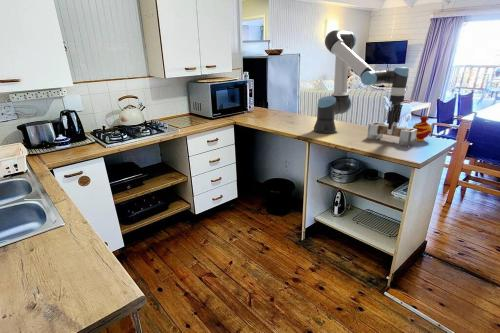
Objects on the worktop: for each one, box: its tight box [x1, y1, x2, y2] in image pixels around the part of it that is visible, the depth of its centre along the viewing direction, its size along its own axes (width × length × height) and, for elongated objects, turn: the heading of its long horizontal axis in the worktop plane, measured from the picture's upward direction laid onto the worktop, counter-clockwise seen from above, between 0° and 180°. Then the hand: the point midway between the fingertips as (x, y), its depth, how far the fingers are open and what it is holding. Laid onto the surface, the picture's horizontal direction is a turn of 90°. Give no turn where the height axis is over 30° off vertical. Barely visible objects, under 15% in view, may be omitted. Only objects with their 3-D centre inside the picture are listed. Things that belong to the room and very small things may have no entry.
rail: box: [376, 124, 411, 138], centre depth 179 cm, size 20×4×5 cm, turn 42°
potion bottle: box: [412, 115, 433, 142], centre depth 180 cm, size 10×10×15 cm
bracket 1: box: [366, 121, 385, 141], centre depth 187 cm, size 6×8×9 cm
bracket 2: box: [398, 127, 418, 148], centre depth 173 cm, size 6×8×9 cm
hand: (391, 133), depth 180 cm, fingers closed on rail, 4 cm apart
